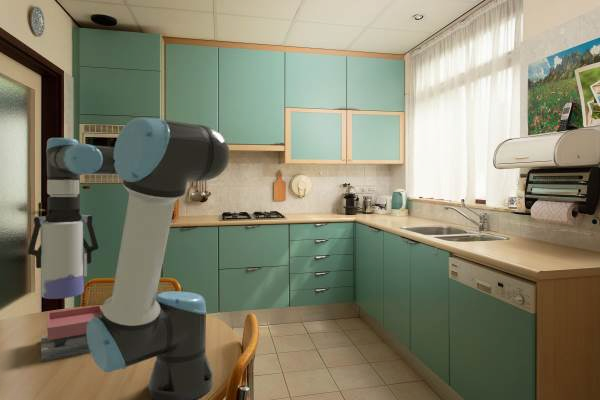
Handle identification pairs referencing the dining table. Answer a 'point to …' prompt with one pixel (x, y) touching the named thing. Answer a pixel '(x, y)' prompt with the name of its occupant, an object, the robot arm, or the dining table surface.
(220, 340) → the dining table surface
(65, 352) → the track
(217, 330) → the dining table surface
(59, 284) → the container
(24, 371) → the dining table surface
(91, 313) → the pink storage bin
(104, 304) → the robot arm
